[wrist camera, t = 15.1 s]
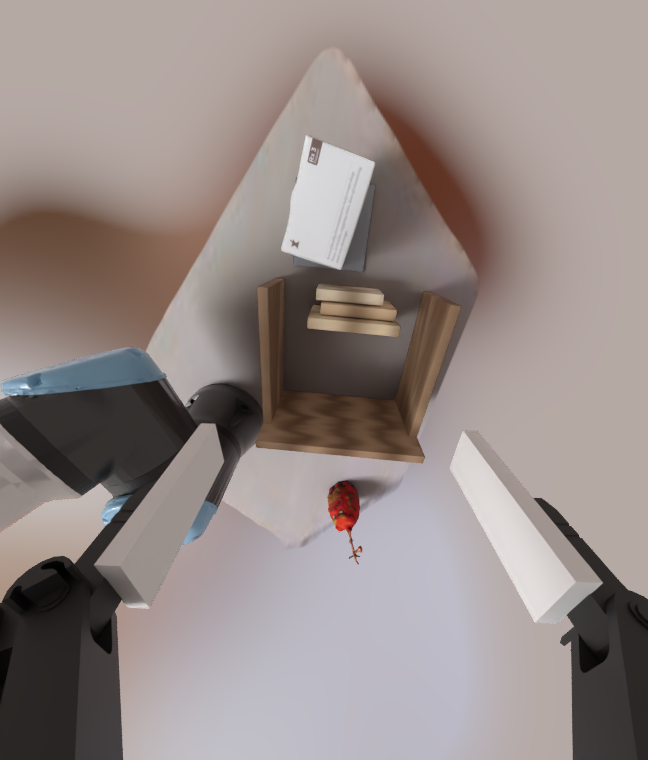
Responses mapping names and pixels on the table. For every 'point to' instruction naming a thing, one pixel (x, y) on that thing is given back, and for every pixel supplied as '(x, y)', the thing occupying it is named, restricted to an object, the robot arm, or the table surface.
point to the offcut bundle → (353, 311)
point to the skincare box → (326, 203)
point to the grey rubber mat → (358, 243)
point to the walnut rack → (346, 413)
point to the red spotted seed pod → (344, 509)
